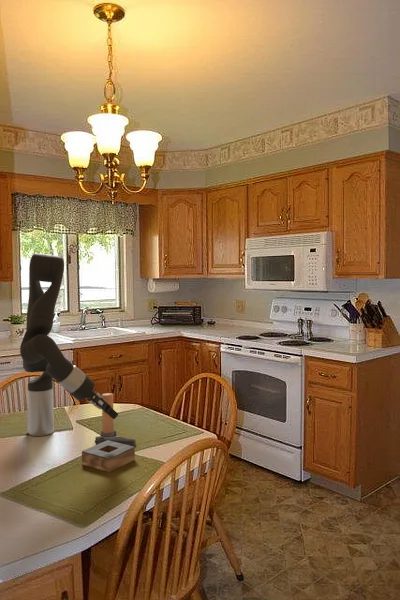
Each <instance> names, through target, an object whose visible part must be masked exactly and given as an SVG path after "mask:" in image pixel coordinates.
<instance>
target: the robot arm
mask: <svg viewBox="0 0 400 600" xmlns="http://www.w3.org/2000/svg"><path fill="white" fill-rule="evenodd" d="M28 268H29V269H28V271H29V272H28V273H29V274H28V278H29V279H28V281H29V282H28V283H29V286H28V287H29V288H28V303H27V310H26V326H25V327H26V328H25V329H26V330H25V333H24V336H23V338H22V340H21V343H20V347H19V352H20V353H19V355H20V357H21V358H22V367H23V369H24V371H25V372H27V373H40V372H42V374H40V375H39V376H38V377H36V378H34V379H31V380H30V381H29V382H27V403H28V405H27V408H26V421H27V422H26V423H27V424H26V425H27V426H26V428H27V430H26V432H27V433H28V435H30V436H32V437H43V436H48V435H51V434H53V433H54V432H55V428H54V426H55V425H54V423H55V422H54V421H55V420H54V386H53V385H54V381H56V382H57V383H58V384H59V385H60V386H61V387H62V388H63V390H65V391H66V392H67V393H69V394H70V395H71V396H72V397H73V398H74V399H75V400H77V401H78V402H79V401H80V402H81V401H84V400H86V401H87V402H88V403H90V404H91V405H93V406H94V407H95V408H97V409H98V410H101V411H102V410H103V411H104V412H105V413H107V414H108V415H109V416H110V417H112V418H113V419H114V420H115V419H116V418H117V417H118V416H119V413H118V412H117V411H116V410H115V409H114V408H113V409H112V408H111V405H109V404H108V403H107V402H106V400H105V399H104V398H103V397H102V395H101V393H99V392H98V391H96V390H95V386H96V383H95V381H94V380H93V379H92V378H91V377H89V375H87V374H86V373H84V372H83V371H82V370H81V369H80V368H78V367H77V366H76V365H74V364H73V363H72V362H71V361H70V360H69V359H67V358H66V357H65V355H64V354H63V352H62V351H61V349H60V347H59V346H58V344H57V343H56V342H55V340H54V339H53V338H52V337H51V336H49V334H50V333H51V331H52V330H53V329H52V328H53V324H54V320H55V319H54V317H55V309H56V304H57V301H58V297H59V294H60V290H61V286H62V282H63V278H64V274H65V273H64V272H65V260H64V258H63V257H62V256H59V255H53V254H45V253H33V254H32V255H31V257H30V260H29V267H28ZM41 282H44V283H50V285H49V287H48V288H47V289H46V291H44V290H43V288H42V286H41ZM106 406H107V407H106ZM105 407H106V408H105ZM104 408H105V409H104Z"/></svg>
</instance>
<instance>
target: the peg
mask: <svg viewBox="0 0 400 600" xmlns="http://www.w3.org/2000/svg"><path fill="white" fill-rule="evenodd" d="M101 397H103V398H104V399H105V400H106V402H107V403H108V404H109V405H111V408H112V409H113V410H114V393H109V392H107V393H102V394H101ZM106 407H107V406H106ZM106 407H105V408H106ZM105 408H104V409H105ZM101 411H102V412H101V414H102V415H101V418H102V420H101V421H102V427H101V428H102V431H103V432H104V433H111V432H113V431H115V427H114V425H115V424H114V422H115V421H114V420H115V419H113V418H112V417H110V416H109V415H108V414H107V413H105V412H104V411H103V410H102V409H101Z"/></svg>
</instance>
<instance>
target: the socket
mask: <svg viewBox="0 0 400 600" xmlns="http://www.w3.org/2000/svg"><path fill="white" fill-rule="evenodd" d="M135 451H136V447H135V446H130V445H125V444H121V443H117V442H113V441H109V440H107V441H105V442H102V443H100V444H95V445H93V446H91V447H89V448H86V449H83V450H81V465H83V466H86V467H90V468H93V469H97V470H101V471H104V472H107V473H111V472H113V471H115V470H117V469H119V468H121V467H124V466H125V465H128V464H130V463H131V462H133V461H135V460H136V454H135V453H136V452H135Z"/></svg>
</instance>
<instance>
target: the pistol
mask: <svg viewBox="0 0 400 600" xmlns="http://www.w3.org/2000/svg"><path fill="white" fill-rule="evenodd" d="M107 440H109V441H113V442H117V443H121V444H125V445H130V446H134V447H135V446H136V441H137V440H136V439H134V438H126V437H122V436H120V435H117V431H116V430H114V431H113V432H111V433H104V432H103V430H101V432H100V435H99V436H95V440H94V443H95V445H98V444H100V443H102V442H105V441H107Z"/></svg>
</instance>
